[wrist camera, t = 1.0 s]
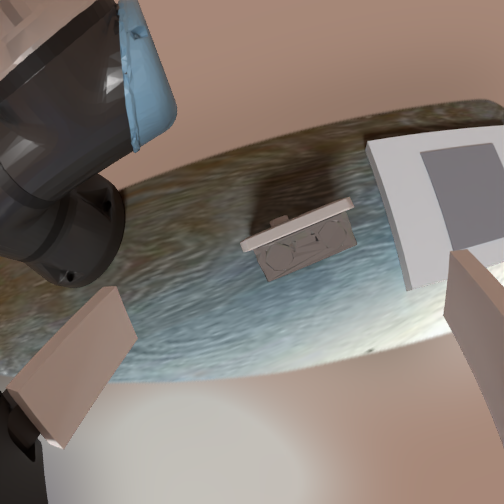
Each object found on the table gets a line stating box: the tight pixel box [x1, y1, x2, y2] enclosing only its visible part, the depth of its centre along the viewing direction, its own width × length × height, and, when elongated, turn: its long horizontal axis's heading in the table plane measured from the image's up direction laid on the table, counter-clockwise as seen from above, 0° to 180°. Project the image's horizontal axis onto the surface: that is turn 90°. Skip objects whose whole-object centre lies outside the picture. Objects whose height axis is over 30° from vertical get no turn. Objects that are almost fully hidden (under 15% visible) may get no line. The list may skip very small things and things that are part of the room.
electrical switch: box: [240, 197, 357, 282], centre depth 28 cm, size 9×5×9 cm, turn 111°
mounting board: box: [365, 125, 504, 291], centre depth 29 cm, size 22×16×2 cm
